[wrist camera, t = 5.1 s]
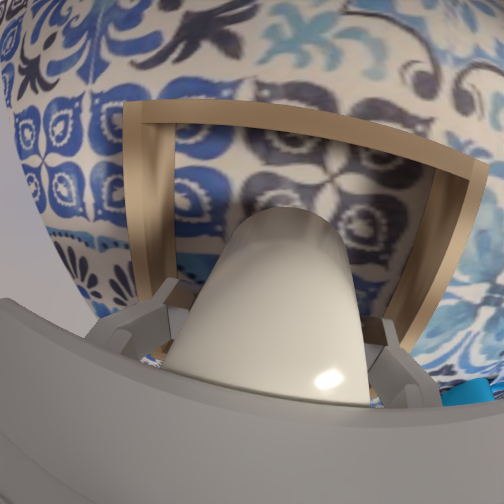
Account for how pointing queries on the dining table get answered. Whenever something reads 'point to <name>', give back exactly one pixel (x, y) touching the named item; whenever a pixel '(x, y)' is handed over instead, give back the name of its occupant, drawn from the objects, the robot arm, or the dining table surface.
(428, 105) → the dining table surface
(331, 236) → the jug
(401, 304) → the holder
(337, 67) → the dining table surface
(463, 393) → the mug
